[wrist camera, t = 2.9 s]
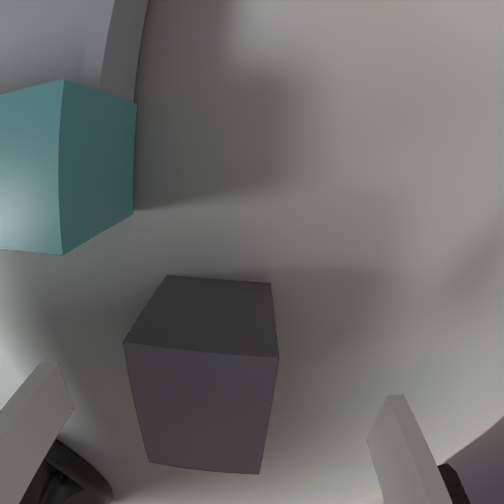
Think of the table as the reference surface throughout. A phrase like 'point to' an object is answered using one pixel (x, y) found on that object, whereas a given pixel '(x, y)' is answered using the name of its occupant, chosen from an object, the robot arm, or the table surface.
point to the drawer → (66, 119)
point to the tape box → (204, 373)
